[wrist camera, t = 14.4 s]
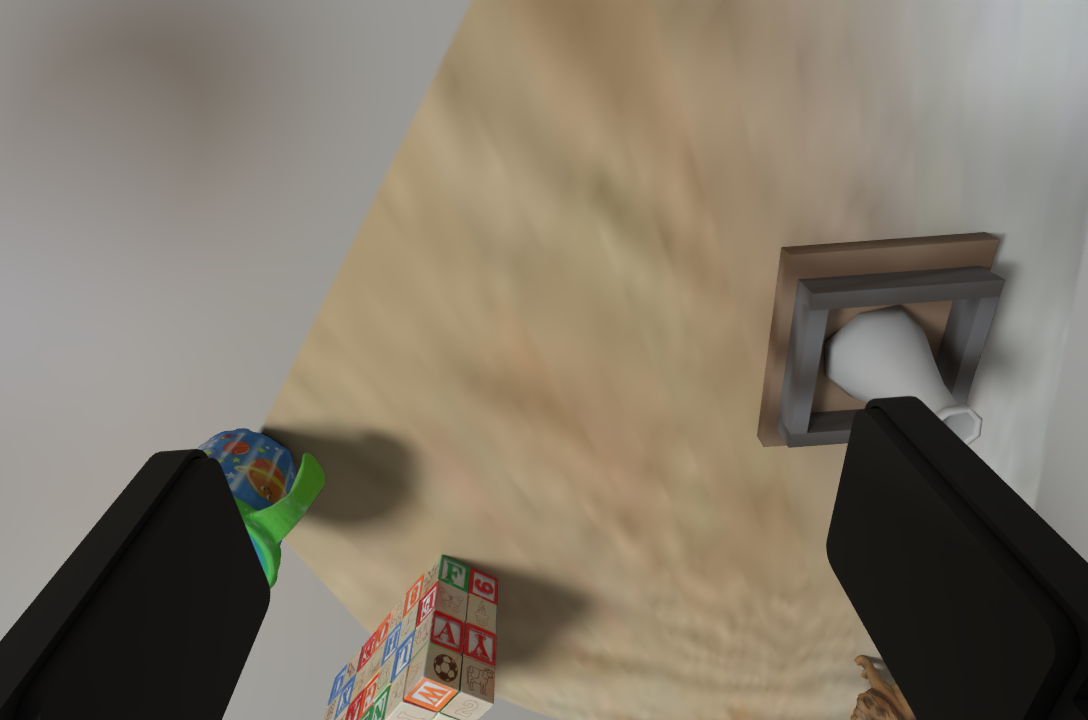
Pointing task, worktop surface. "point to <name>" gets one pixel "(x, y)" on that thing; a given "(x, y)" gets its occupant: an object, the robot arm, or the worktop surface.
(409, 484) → the worktop surface
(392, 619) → the stack of blocks
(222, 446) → the snack cup
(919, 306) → the board
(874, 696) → the lion figurine
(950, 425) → the flask
